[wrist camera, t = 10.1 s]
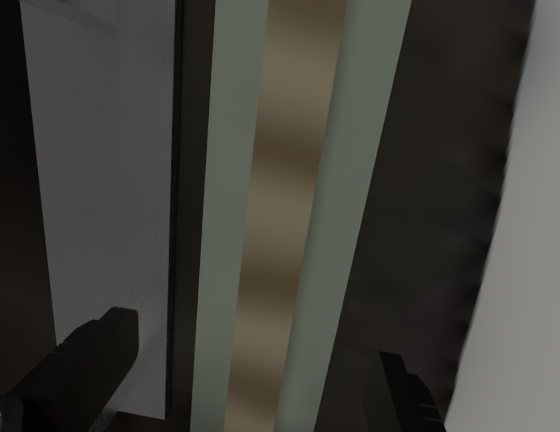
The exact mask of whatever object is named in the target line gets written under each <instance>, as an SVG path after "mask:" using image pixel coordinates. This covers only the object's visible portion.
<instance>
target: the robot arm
mask: <svg viewBox="0 0 560 432" xmlns="http://www.w3.org/2000/svg"><path fill="white" fill-rule="evenodd" d="M138 351H139V317H138V311H137V310H134V309H128V308H122V307H116V306H114V307H111V308H110V309H109V310H108V311H107V312H106V313H105V314H104V315H103V316H102V317H101V318H100V319H99V320H95V319H92V320H90V321H89V322H87V323H85V324H83V325H81V326H79V327H78V328H76V329H75V330H74V331H73V332H72V333H71V334H70V335H69V336H67V337H66V338H65V339H64V340H63V343H60V344H59V345H58V346H57V347H56V348H55V349H54V350H53V352H52V353H50V354H49V355H47V356H46V357H45V358H44V359H43V360H42V361H41V362H40V363H39V364H38V365H37V366H36V367H35V368H34V369H33V370H32V371H31V372H30V373H29V374H27V375H26V376H25V377H24V378H23V379H22V380H21V381H20V382H19V383H18V384H17V385H16V386H15V387H14V388H13V389H12V390H11V391H10V392H9V393H7V394H6V395H5V396H0V432H88V431H89V429H90V428H91V426H92V425H93V424H94V422H95V421H96V419H97V418H98V416H99V415H100V413H101V412H102V410H103V409H104V407H105V406H106V404H107V403H108V402H109V400H110V399H111V397H112V396H113V394H114V393H115V391H116V390H117V388H118V387H119V385H120V384H121V383H122V381H123V380H124V378H125V377H126V375H127V374H128V372H129V371H130V369H131V368H132V366H133V365H134V363H135V361H136V358H137V355H138ZM364 409H365V414H366V420H367V426H368V431H369V432H446V429H445V427H444V424H443V423H442V422H441V417H440V415H439V412H438V410H437V409H436V405H435V403H434V400H433V398H432V396H431V393H430V391H429V389H428V388H427V387H426V385H425V384H424V383H423V382H422V380H421V379H420V378H419V377H418V376H417V375H416V374H410V373H407V370H406V367H405V365H404V362H403V359H402V357H401V355H399V354H394V353H388V352H382V351H375V353H374V355H373V359H372V362H371V366H370V369H369V373H368V376H367V380H366V384H365V388H364Z"/></svg>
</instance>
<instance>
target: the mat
mask: <svg viewBox="0 0 560 432" xmlns="http://www.w3.org/2000/svg"><path fill="white" fill-rule="evenodd" d="M268 4H269V0H216V9H215V26H214V42H213V59H212V76H211V92H210V109H209V126H208V142H207V159H206V176H205V192H204V209H203V226H202V242H201V259H200V276H199V292H198V309H197V325H196V342H195V359H194V375H193V392H192V409H191V425H190V432H223V431H224V422H225V412H226V403H227V393H228V384H229V374H230V365H231V355H232V346H233V336H234V327H235V317H236V308H237V298H238V289H239V279H240V270H241V260H242V251H243V241H244V232H245V222H246V213H247V204H248V194H249V185H250V175H251V166H252V156H253V147H254V137H255V128H256V118H257V109H258V99H259V90H260V80H261V71H262V61H263V52H264V42H265V33H266V23H267V14H268ZM410 5H411V0H347V6H346V12H345V18H344V24H343V29H342V35H341V41H340V47H339V53H338V58H337V64H336V70H335V76H334V82H333V87H332V93H331V99H330V105H329V111H328V116H327V122H326V128H325V134H324V140H323V145H322V151H321V157H320V163H319V169H318V174H317V180H316V186H315V192H314V198H313V203H312V209H311V215H310V221H309V226H308V232H307V238H306V244H305V250H304V255H303V261H302V267H301V273H300V279H299V284H298V290H297V296H296V302H295V308H294V313H293V319H292V325H291V331H290V337H289V342H288V348H287V354H286V360H285V366H284V371H283V377H282V383H281V389H280V395H279V400H278V406H277V412H276V418H275V424H274V429H273V432H314V427H315V423H316V419H317V414H318V410H319V405H320V401H321V397H322V392H323V388H324V383H325V379H326V375H327V370H328V366H329V361H330V357H331V353H332V348H333V344H334V339H335V335H336V331H337V326H338V322H339V317H340V313H341V309H342V304H343V300H344V295H345V291H346V287H347V282H348V278H349V273H350V269H351V265H352V260H353V256H354V251H355V247H356V243H357V238H358V234H359V229H360V225H361V221H362V216H363V212H364V207H365V203H366V198H367V194H368V190H369V185H370V181H371V176H372V172H373V168H374V163H375V159H376V154H377V150H378V146H379V141H380V137H381V132H382V128H383V124H384V119H385V115H386V110H387V106H388V102H389V97H390V93H391V88H392V84H393V80H394V75H395V71H396V66H397V62H398V58H399V53H400V49H401V44H402V40H403V36H404V31H405V27H406V22H407V18H408V14H409V9H410Z"/></svg>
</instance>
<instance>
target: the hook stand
mask: <svg viewBox="0 0 560 432" xmlns="http://www.w3.org/2000/svg"><path fill="white" fill-rule="evenodd" d="M17 1H20V7H21V17H22V26H23V35H24V45H25V54H26V63H27V72H28V82H29V91H30V100H31V110H32V119H33V128H34V137H35V147H36V156H37V165H38V175H39V184H40V193H41V202H42V212H43V221H44V230H45V240H46V249H47V258H48V267H49V277H50V286H51V295H52V305H53V314H54V323H55V333H56V342H57V346H58V345H59V344H60V343H63V340H64V339H65V338H66V337H67V336H69V335H70V334H71V333H72V332H73V331H74V330H75V329H76V328H78V327H79V326H81V325H83V324H85V323H87V322H89V321H90V320H92V319H95V320H99V319H100V318H101V317H102V316H103V315H104V314H105V313H106V312H107V311H108V310H109V309H110V308H111V307H114V306H116V307H122V308H128V309H134V310H137V311H138V317H139V351H138V355H137V358H136V361H135V363H134V365H133V366H132V368H131V369H130V371H129V372H128V374H127V375H126V377H125V378H124V380H123V381H122V383H121V384H120V385H119V387H118V388H117V390H116V391H115V393H114V394H113V396H112V397H111V399H110V400H109V402H108V403H107V404H106V406H105V407H104V409H103V410H102V412H101V413H100V415H99V416H98V418H97V419H96V421H95V422H94V424H93V425H92V426H91V428H90V429H89V431H88V432H104V431H105V429H106V428H107V426H108V425H109V423H110V422H111V420H112V419H113V417H114V416H115V414H116V412H117V411H122V412H127V413H132V414H138V415H143V416H148V417H153V418H159V419H164V420H165V418H166V416H167V414H168V412H169V409H170V398H171V366H172V335H173V304H174V273H175V241H176V210H177V179H178V148H179V117H180V85H181V54H182V23H183V0H17Z"/></svg>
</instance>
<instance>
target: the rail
mask: <svg viewBox="0 0 560 432" xmlns="http://www.w3.org/2000/svg"><path fill="white" fill-rule="evenodd" d="M346 6H347V0H269V4H268V14H267V23H266V33H265V42H264V52H263V61H262V71H261V80H260V90H259V99H258V109H257V118H256V128H255V137H254V147H253V156H252V166H251V175H250V185H249V194H248V204H247V213H246V222H245V232H244V241H243V251H242V260H241V270H240V279H239V289H238V298H237V308H236V317H235V327H234V336H233V346H232V355H231V365H230V374H229V384H228V393H227V403H226V412H225V422H224V431H223V432H273V429H274V424H275V418H276V412H277V406H278V400H279V395H280V389H281V383H282V377H283V371H284V366H285V360H286V354H287V348H288V342H289V337H290V331H291V325H292V319H293V313H294V308H295V302H296V296H297V290H298V284H299V279H300V273H301V267H302V261H303V255H304V250H305V244H306V238H307V232H308V226H309V221H310V215H311V209H312V203H313V198H314V192H315V186H316V180H317V174H318V169H319V163H320V157H321V151H322V145H323V140H324V134H325V128H326V122H327V116H328V111H329V105H330V99H331V93H332V87H333V82H334V76H335V70H336V64H337V58H338V53H339V47H340V41H341V35H342V29H343V24H344V18H345V12H346Z"/></svg>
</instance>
